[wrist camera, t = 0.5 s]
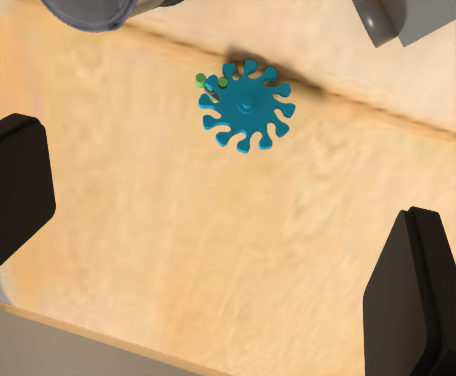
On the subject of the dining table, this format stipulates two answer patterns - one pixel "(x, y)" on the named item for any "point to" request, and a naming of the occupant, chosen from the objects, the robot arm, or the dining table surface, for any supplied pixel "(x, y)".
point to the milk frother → (101, 12)
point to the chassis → (403, 18)
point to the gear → (244, 104)
